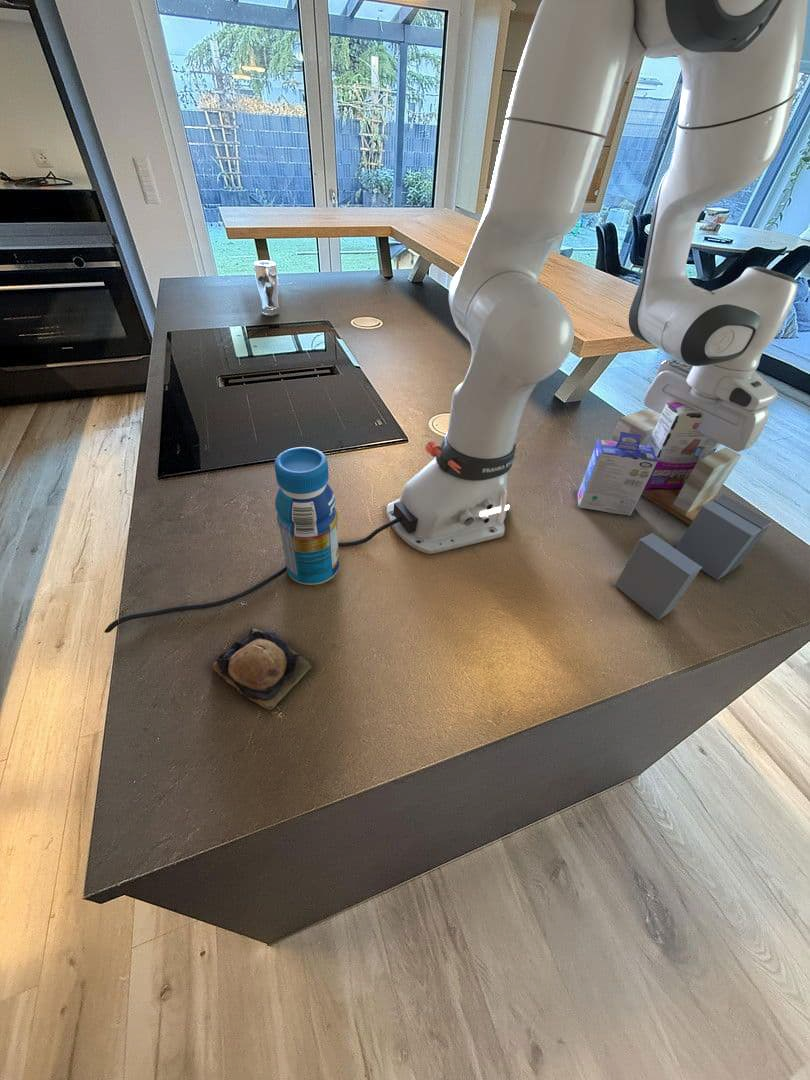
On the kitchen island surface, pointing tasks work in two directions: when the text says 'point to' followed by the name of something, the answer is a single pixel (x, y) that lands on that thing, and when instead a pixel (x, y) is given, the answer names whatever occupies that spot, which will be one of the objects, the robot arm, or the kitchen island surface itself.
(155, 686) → the kitchen island surface
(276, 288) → the beer glass
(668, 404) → the candy bar box
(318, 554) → the beverage bottle
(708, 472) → the wooden bookend rack
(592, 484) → the ink cartridge box
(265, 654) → the potato on dark dish
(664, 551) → the grey blocks
